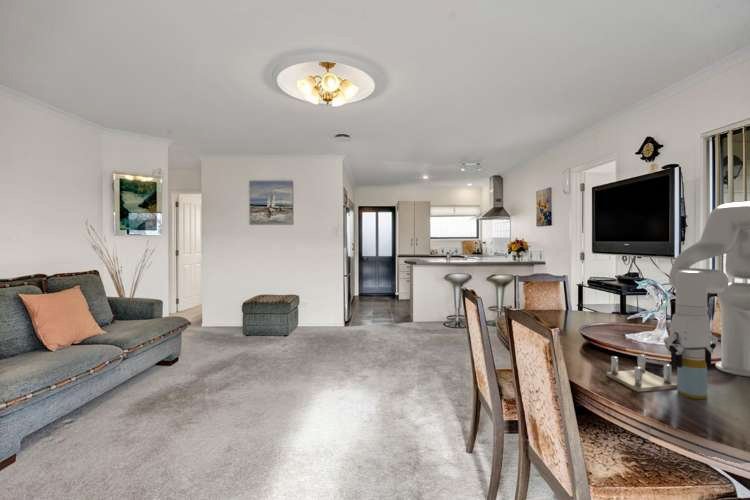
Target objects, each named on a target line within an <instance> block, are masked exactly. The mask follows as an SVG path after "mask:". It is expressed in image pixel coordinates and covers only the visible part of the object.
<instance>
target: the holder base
mask: <svg viewBox="0 0 750 500" xmlns="http://www.w3.org/2000/svg"><path fill="white" fill-rule="evenodd" d="M606 376H607V377H609V378H610V379H613V380H614V381H616V382H618V383H620V384H622V385H624V386H626V387H628V388H630V389H631V390H634V391H635V392H637V393H639V392H651V391H662V390H673V389H678V383H677V384H676V383H674V382H673V381H671V382H672V384H666V383H664V377H661V376H659V375H658V374H655V373H651V372H648V371H646V372H645V373H643V372H642V387H638V386H635V374H634V369H630V370H629V369H628V370H618V375H614V374H612V371H606Z"/></svg>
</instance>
